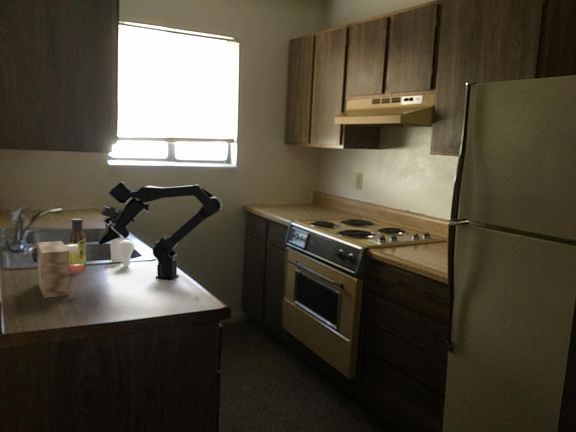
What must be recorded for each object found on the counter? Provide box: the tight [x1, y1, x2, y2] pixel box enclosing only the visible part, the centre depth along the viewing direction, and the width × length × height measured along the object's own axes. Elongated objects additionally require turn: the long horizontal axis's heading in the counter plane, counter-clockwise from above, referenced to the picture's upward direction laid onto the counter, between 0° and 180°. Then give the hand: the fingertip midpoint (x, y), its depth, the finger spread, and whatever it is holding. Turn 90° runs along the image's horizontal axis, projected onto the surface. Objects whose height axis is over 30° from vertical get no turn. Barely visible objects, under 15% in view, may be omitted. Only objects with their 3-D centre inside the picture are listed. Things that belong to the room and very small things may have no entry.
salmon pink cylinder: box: [69, 264, 86, 275], centre depth 179 cm, size 7×3×3 cm, turn 120°
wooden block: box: [36, 240, 71, 299], centre depth 182 cm, size 8×18×15 cm, turn 30°
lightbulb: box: [118, 239, 135, 267], centre depth 216 cm, size 6×6×11 cm
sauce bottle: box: [68, 218, 87, 269], centre depth 210 cm, size 6×6×20 cm
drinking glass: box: [109, 235, 127, 263], centre depth 225 cm, size 7×7×10 cm
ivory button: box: [64, 244, 79, 253], centre depth 189 cm, size 7×3×3 cm, turn 120°
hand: (99, 243), depth 194 cm, fingers closed
